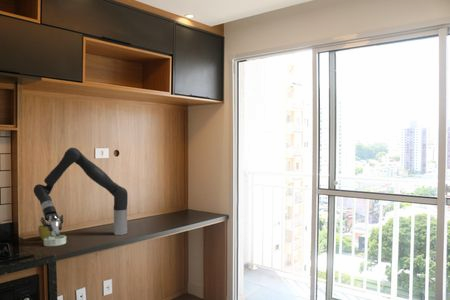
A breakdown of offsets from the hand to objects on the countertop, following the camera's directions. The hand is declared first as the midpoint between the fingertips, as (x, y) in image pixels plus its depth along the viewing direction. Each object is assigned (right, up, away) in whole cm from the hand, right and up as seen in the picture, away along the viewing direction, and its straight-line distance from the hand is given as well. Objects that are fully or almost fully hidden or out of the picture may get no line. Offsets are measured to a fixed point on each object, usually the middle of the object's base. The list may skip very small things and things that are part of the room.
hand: (56, 229), depth 233 cm
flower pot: (-14, -10, +15) cm, 22 cm away
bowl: (-1, -9, +1) cm, 9 cm away
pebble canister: (-1, -4, +1) cm, 5 cm away
